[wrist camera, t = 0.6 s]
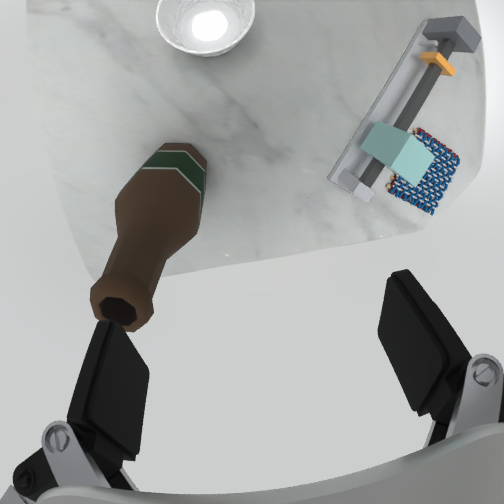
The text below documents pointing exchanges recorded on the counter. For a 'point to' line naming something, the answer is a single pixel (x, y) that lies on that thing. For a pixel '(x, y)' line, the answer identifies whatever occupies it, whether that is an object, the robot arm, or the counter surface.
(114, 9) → the counter surface
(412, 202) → the woven mat
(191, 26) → the white cup
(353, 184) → the teal block rod stand
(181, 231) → the beer bottle
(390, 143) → the teal sliding block
